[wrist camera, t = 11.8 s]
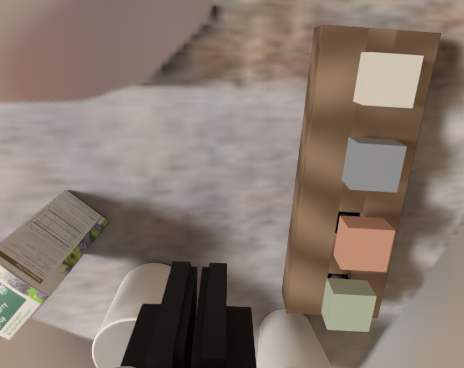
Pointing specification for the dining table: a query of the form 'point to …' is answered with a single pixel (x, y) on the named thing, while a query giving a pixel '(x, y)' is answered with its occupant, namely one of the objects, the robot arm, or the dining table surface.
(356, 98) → the cream rectangular block
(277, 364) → the foam cup
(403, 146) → the slate-grey key
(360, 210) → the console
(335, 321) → the sage key
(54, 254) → the syrup box
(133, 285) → the mug
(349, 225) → the terracotta key
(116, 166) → the dining table surface
